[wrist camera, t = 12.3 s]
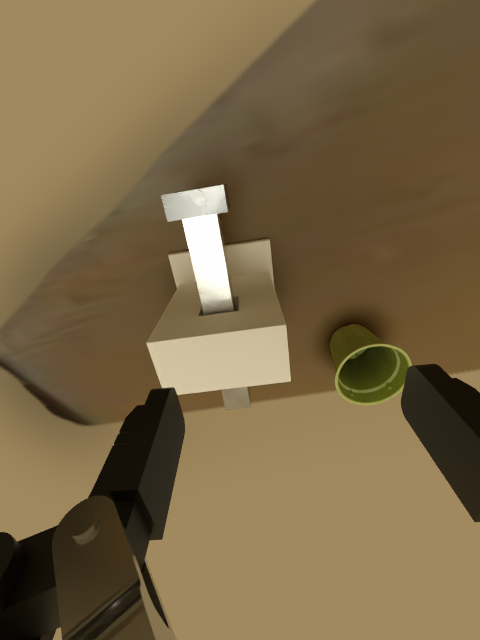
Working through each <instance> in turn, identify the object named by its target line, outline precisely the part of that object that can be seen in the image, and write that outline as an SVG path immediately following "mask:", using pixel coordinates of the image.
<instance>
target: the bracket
mask: <svg viewBox="0 0 480 640" xmlns="http://www.w3.org/2000/svg"><path fill="white" fill-rule="evenodd" d="M225 248H226V254H227V260H228V265H229V271H230V277H231V283H232V289H233V295H234V300H235V306H236V311H234V312H227V313H220V314H212V315H205V316H204V313H203V308H202V304H201V300H200V295H199V291H198V287H197V282H196V278H195V274H194V269H193V265H192V261H191V256H190V252H189V251H183V252H177V253H170V254H169V255H168V257H169V260H170V264H171V268H172V272H173V276H174V279H175V283H176V287H177V290H176V292H175V293H174V295H173V297H172V299H171V301H170V302H169V304H168V306H167V308H166V309H165V311H164V313H163V315H162V316H161V318H160V320H159V322H158V323H157V325H156V327H155V329H154V331H153V332H152V334H151V336H150V338H149V339H148V341H147V346H148V349H149V352H150V355H151V358H152V360H153V363H154V366H155V369H156V372H157V375H158V378H159V380H160V383H161V386H162V388H169V387H174V388H175V390H176V393H177V395H180V394H189V393H197V392H205V391H214V390H222V389H231V388H239V387H247V386H256V385H264V384H273V383H281V382H290V381H291V377H290V365H289V354H288V342H287V330H286V323H285V320H284V317H283V314H282V311H281V307H280V304H279V301H278V298H277V295H276V292H275V288H274V278H273V268H272V258H271V248H270V240H269V239H262V240H255V241H249V242H242V243H236V244H229V245H225Z"/></svg>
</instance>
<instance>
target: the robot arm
mask: <svg viewBox="0 0 480 640" xmlns="http://www.w3.org/2000/svg"><path fill="white" fill-rule="evenodd" d="M401 407H402V411H403V414H404V416H405V418H406V420H407V421H408V423H409V424H410V426H411V427H412V429H413V430H414V432H415V433H416V435H417V436H418V438H419V439H420V441H421V442H422V444H423V445H424V447H425V448H426V450H427V451H428V453H429V454H430V456H431V457H432V459H433V460H434V462H435V463H436V465H437V466H438V468H439V469H440V471H441V472H442V474H443V475H444V477H445V478H446V480H447V481H448V482H449V484H450V485H451V487H452V489H453V490H454V492H455V493H456V495H457V496H458V498H459V499H460V500H461V502H462V504H463V505H464V507H465V508H466V510H467V511H468V513H469V514H470V516H471V517H472V519H473V520H474V522H480V393H479V392H478V391H477V390H476V389H475V388H473V387H472V386H470V385H468V384H466V383H464V382H463V381H461V380H459V379H457V378H451V377H450V376H449V375H448V374H447V373H446V372H445V371H444V370H443V369H442V368H441V367H440V366H438V365H437V364H427V365H416V366H410V367H409V368H408V369H407V373H406V378H405V383H404V388H403V393H402V398H401ZM184 434H185V423H184V417H183V413H182V410H181V406H180V403H179V400H178V396H177V393H176V390H175V388H174V387H169V388H158V389H152V390H151V391H150V393H149V395H148V398H147V400H146V402H145V405H138V406H136V407H135V408H134V409H133V411H132V412H131V413H130V414H129V415H128V416H127V417H126V418H125V421H124V423H123V425H122V427H121V429H120V434H118V436H117V438H116V440H115V442H114V446H112V449H111V451H110V453H109V455H108V457H107V460H106V461H105V464H104V466H103V468H102V470H101V472H100V474H99V476H98V479H97V481H96V483H95V485H94V487H93V489H92V492H91V493H90V495H89V497H88V499H85V500H83V501H81V502H80V503H78V504H77V505H75V506H74V507H73V508H72V509H71V510H70V511H69V512H68V513H67V514H66V515H65V516H64V518H63V519H62V520H61V522H60V523H59V525H57V526H55V527H53V528H50V529H48V530H45V531H43V532H40V533H38V534H35V535H33V536H31V537H28V538H26V539H23V540H21V541H18V542H17V541H16V540H15V539H14V538H13V537H12V536H11V535H10V534H8V533H5V532H0V640H52V639H53V637H54V634H55V631H56V629H57V628H59V627H61V633H62V640H176V637H175V635H174V633H173V630H172V628H171V625H170V623H169V620H168V617H167V614H166V612H165V609H164V606H163V604H162V601H161V598H160V596H159V593H158V590H157V588H156V585H155V582H154V580H153V577H152V574H151V572H150V569H149V566H148V564H147V561H146V559H145V556H146V551H147V547H148V544H149V540H161V539H162V538H163V533H164V528H165V524H166V519H167V514H168V510H169V505H170V500H171V495H172V491H173V486H174V481H175V477H176V472H177V467H178V463H179V458H180V453H181V449H182V444H183V439H184Z"/></svg>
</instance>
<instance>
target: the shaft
mask: <svg viewBox="0 0 480 640" xmlns="http://www.w3.org/2000/svg"><path fill="white" fill-rule="evenodd" d="M161 198H162V202H163V206H164V209H165V213H166V217H167V221H168V222H169V221H175V220H181V219H182V221H183V226H184V230H185V234H186V239H187V243H188V248H189V252H190V256H191V261H192V265H193V269H194V274H195V278H196V282H197V287H198V291H199V295H200V300H201V304H202V308H203V313H204V316H205V315H212V314H220V313H227V312H234V311H236V306H235V300H234V295H233V289H232V283H231V277H230V271H229V265H228V260H227V254H226V248H225V242H224V236H223V230H222V225H221V219H220V213H225V212H228V210H229V207H230V205H229V199H228V192H227V186H226V184H222V185H216V186H210V187H204V188H198V189H192V190H186V191H180V192H174V193H169V194H165V195H161ZM221 391H222V395H223V399H224V404H225V408H226V410H231V409H240V408H249V407H251V402H250V388H249V386H247V387H239V388H231V389H222V390H221Z"/></svg>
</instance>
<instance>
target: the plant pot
mask: <svg viewBox="0 0 480 640" xmlns="http://www.w3.org/2000/svg"><path fill="white" fill-rule="evenodd" d="M330 350H331V353H332V357H333V360H334V364H335V368H336V373H335V386H336V389H337V391H338V393H339V394H340V395H341V397H343V398H344V399H345V400H347V401H349V402H351V403H354V404H358V405H373V404H378V403H381V402H384V401H386V400H389V399H391V398H392V397H394V396H395V395H397V394H398V393H399V392H400V391H402V389H403V388H404V383H405V378H406V373H407V369H408V368H409V367H410V366H412V365H411V361H410V359H409V357H408V355H407V354H406V353H405V352H404V351H403V350H402V349H400V348H399V347H397V346H394V345H391V344H387V343H385V342H383V341H382V340H381V339H379V338H378V337H377V336H375V335H374V334H373V333H371V332H370V331H369V330H367V329H366V328H365V327H363V326H361V325H358V324H351V325H348V326H344V327H341V328H339V329H338V330H337V331H335V332H334V334H333V335H332V337H331V339H330Z"/></svg>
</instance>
